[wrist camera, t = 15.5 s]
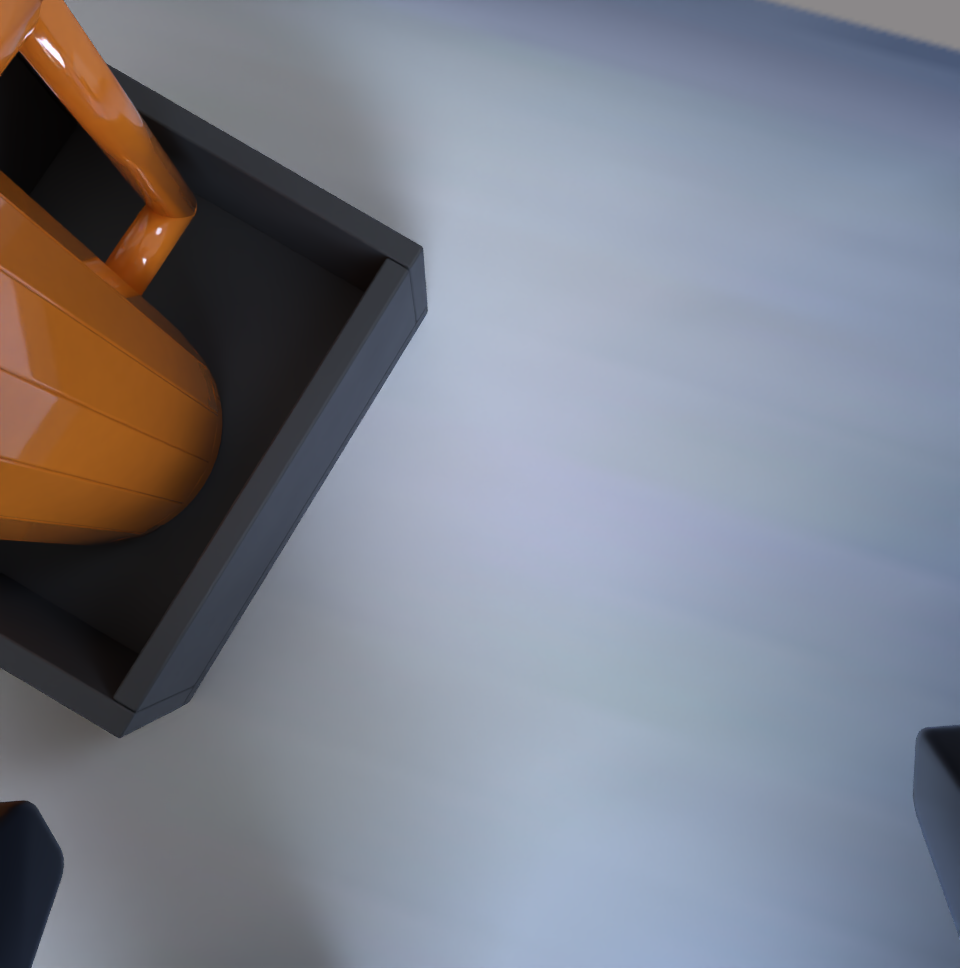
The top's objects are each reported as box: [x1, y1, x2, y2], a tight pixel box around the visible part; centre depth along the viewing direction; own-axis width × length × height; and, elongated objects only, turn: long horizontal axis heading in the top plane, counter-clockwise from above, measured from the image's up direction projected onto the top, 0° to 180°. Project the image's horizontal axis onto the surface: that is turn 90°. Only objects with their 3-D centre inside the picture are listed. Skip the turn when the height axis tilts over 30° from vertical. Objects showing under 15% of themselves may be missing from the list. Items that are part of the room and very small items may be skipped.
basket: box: [0, 51, 428, 738], centre depth 20 cm, size 12×11×5 cm
